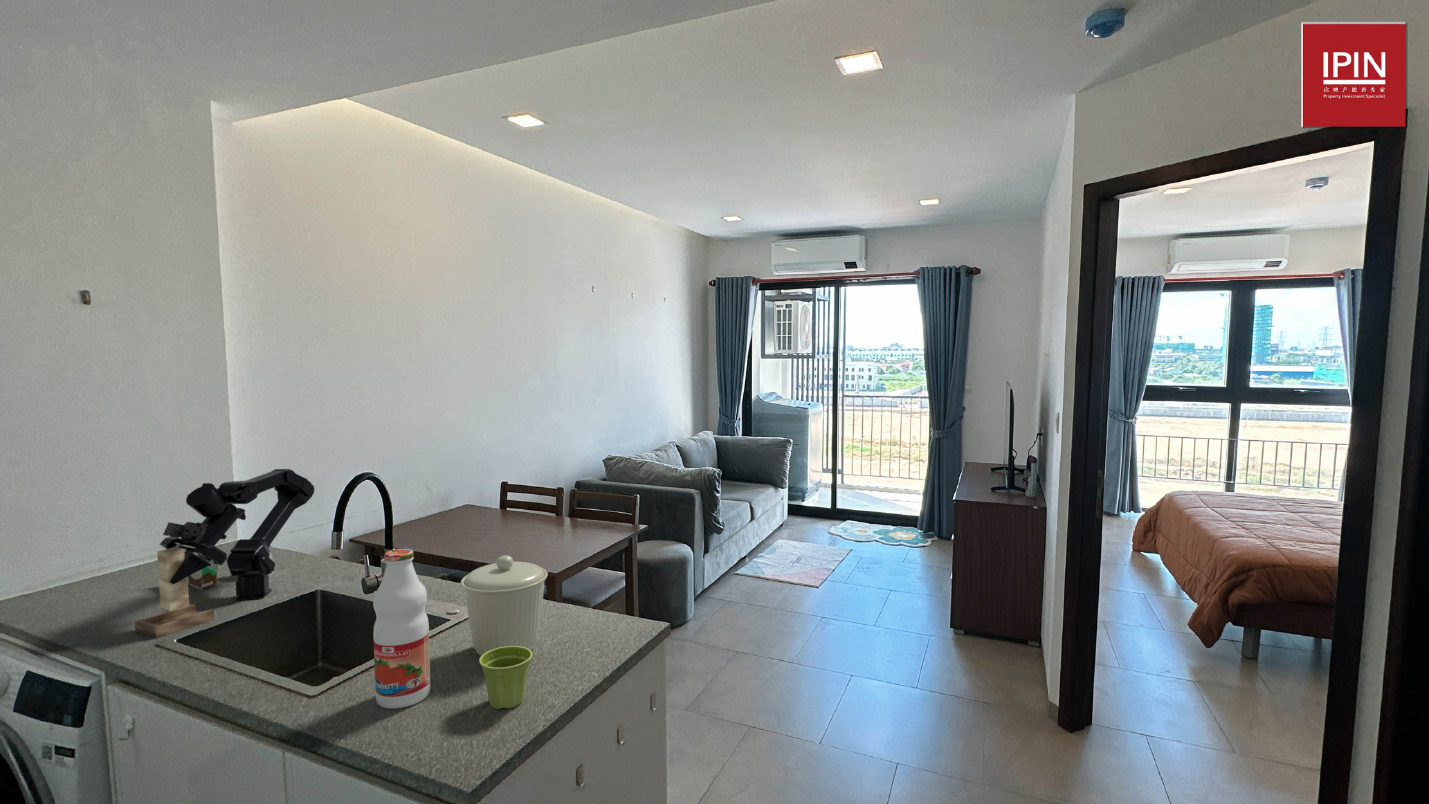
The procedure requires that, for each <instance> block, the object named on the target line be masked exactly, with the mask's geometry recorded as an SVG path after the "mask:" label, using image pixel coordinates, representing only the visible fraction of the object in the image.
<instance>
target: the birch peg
mask: <svg viewBox="0 0 1429 804" xmlns="http://www.w3.org/2000/svg"><path fill="white" fill-rule="evenodd" d="M185 552H186V549H184V548H179V547H174V548H170V549H166V548H164V549H162V550H158V551H156V555H157V557H156V558H157V575H158V590H159V604H160V605H159V606H160V609H161V610H165V611H166V612H168V611H172V610H176V609H179V608H182V607H185V606H189V605H190V598H189V597H190V595H189V584H188V577H186V578H185V579H183V580H181V581H179V582H177V583H176V584H172V583H170V581H171V579H172V577H173V576H174V574H175V573H176V572H177V570H178V569H179V567H180V566H181V565H182V563H183V562H184V560H185V554H184V553H185Z"/></svg>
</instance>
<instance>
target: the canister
mask: <svg viewBox="0 0 1429 804" xmlns="http://www.w3.org/2000/svg"><path fill="white" fill-rule="evenodd" d="M547 578H548V571H547V570H546V569H545V568H543V567H541V566H540V565H537V564H534V563H532V562H525V561H514V559H513V557H512V556H510V555H501V556H499V557H498V558H497V559H496V561H495V563H490V564H485V565H484V566H480V567H477V568H476V569H473V570H472V571H471V572H469V573H468V574H466V575H464V577H463V578H462V579H461V580H460V585H461V587H462V588H463V589H464V594H465V595H464V597H465V600H466V601H465V602H466V608H467V616H468V622H469V623H468V624H469V630H470V634H471V641H472V645H473V647H474V650H475V652H476V653H477V654H478V655H479V656H480V657H481V656H482V655H483V654H484V653H486V652H488V651H490V650H492V649H496V648H499V647H505V646H521V647H525V648H528V649H530V650H531V651H532V650H533V649H534V648H535V647H536V645H537V643H538V641H539V640H538V639H539V637H540V632H541V631H540V630H541V624H542V623H541V622H542V614H543V613H542V612H543V600H544V593H545V592H544V591H545V581H546V580H547Z"/></svg>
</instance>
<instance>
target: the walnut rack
mask: <svg viewBox="0 0 1429 804" xmlns="http://www.w3.org/2000/svg"><path fill="white" fill-rule="evenodd" d="M212 621H215V609H212V608H210V609H207V610H204V611H197V610H196V604H189V606H185V607H182V608H179V609H176V610H172V611H165V612H162V613H159V614H155V615H152V616H148V617H145V618H142V619H138V620H135V622H134V630H135V631H136V633H138V634H142V635H144V636H148V637H152V638H154V639H159V638H162V637H165V636H167V635H171V634H174V633H177V631H178V632H180V631H183V629H184V630H186V629H190V628H193V627H196V626H199V625H202V624H206V623H208V622H212Z"/></svg>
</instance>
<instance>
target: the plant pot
mask: <svg viewBox="0 0 1429 804" xmlns="http://www.w3.org/2000/svg"><path fill="white" fill-rule="evenodd" d="M532 658H533V651H532V650H530V649H528V648H525V647H521V646H505V647H499V648H496V649H492V650H490V651H488V652H486V653H484V654H483V655H482V656H480V657H479V660H478V661H479V662H478V663H479V665H480V666H481V667H482V671H483V673H484V678H485V682H486V689H487V696H488V702H489V705H490V707H492V708H493V709H496V710H501V709H503V708H505V709H512V708H514V707H515V708H516V707H517V706H519V705H520V704H521V703H523V700H524V698H525V691H526V682H527V676H528V670H529V666H530V664H531V663H530V661H531V659H532Z"/></svg>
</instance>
